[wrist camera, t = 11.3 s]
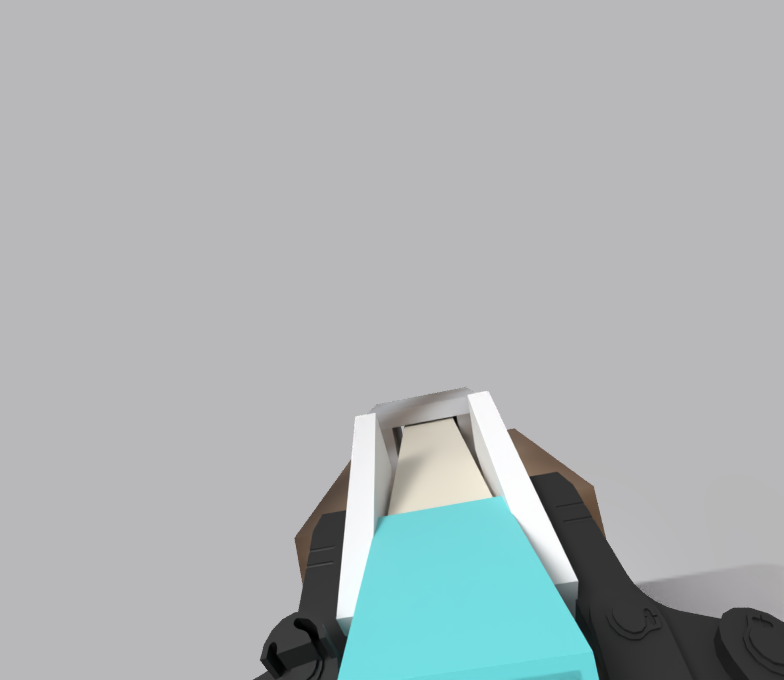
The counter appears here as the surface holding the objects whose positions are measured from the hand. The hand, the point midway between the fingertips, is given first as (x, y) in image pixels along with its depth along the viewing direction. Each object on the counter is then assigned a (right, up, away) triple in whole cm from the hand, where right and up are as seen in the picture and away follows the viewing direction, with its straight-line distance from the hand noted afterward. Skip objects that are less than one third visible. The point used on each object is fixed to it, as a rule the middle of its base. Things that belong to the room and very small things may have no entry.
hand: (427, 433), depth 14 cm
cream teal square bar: (+1, -4, +2) cm, 5 cm away
